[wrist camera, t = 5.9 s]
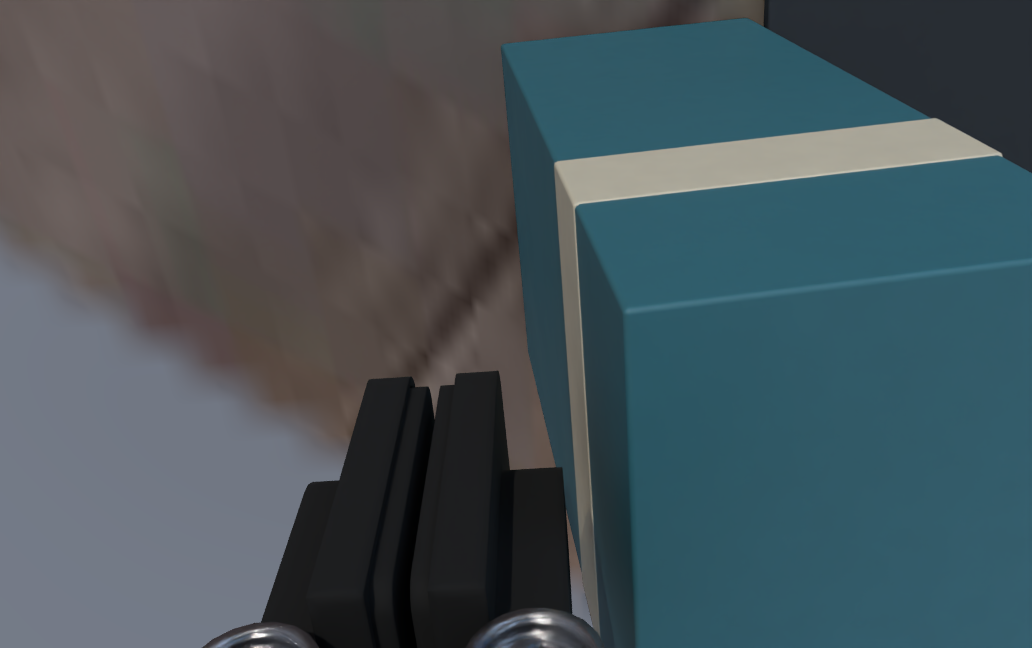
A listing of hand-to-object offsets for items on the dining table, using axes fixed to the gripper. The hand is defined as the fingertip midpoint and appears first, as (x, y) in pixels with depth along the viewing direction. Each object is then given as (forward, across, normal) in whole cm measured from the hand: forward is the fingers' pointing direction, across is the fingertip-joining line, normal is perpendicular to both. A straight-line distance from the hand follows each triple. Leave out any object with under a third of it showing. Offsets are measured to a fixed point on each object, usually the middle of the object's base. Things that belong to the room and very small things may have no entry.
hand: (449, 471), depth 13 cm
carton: (+10, -3, 0) cm, 10 cm away
